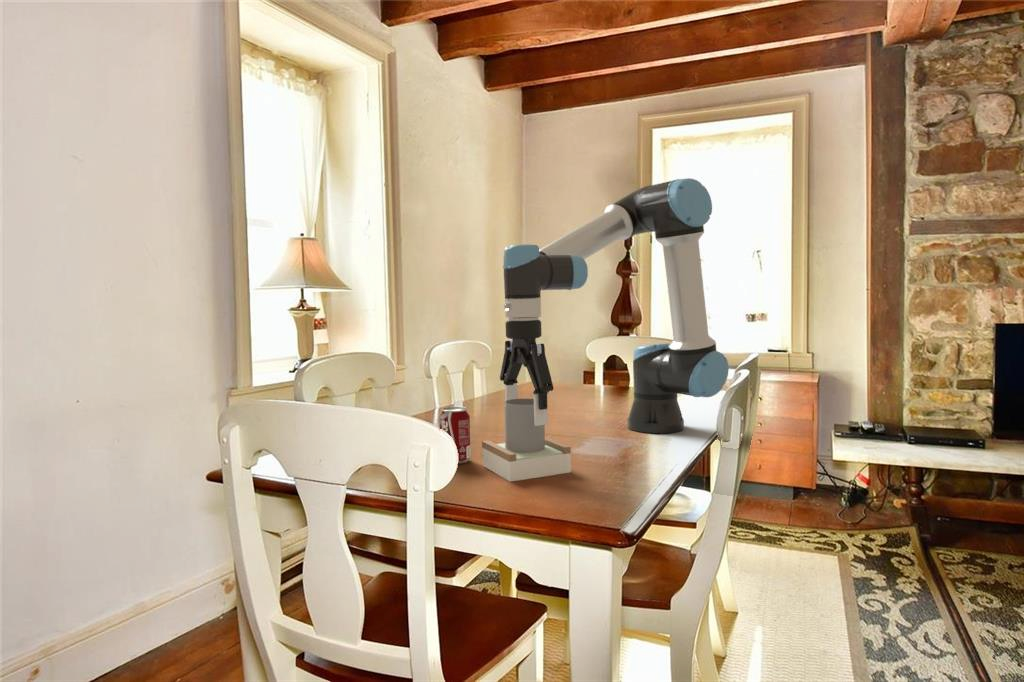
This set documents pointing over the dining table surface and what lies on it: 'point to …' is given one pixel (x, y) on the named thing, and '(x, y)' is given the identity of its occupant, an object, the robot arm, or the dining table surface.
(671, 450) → the dining table surface
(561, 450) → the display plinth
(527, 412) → the cup
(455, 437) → the soda can
